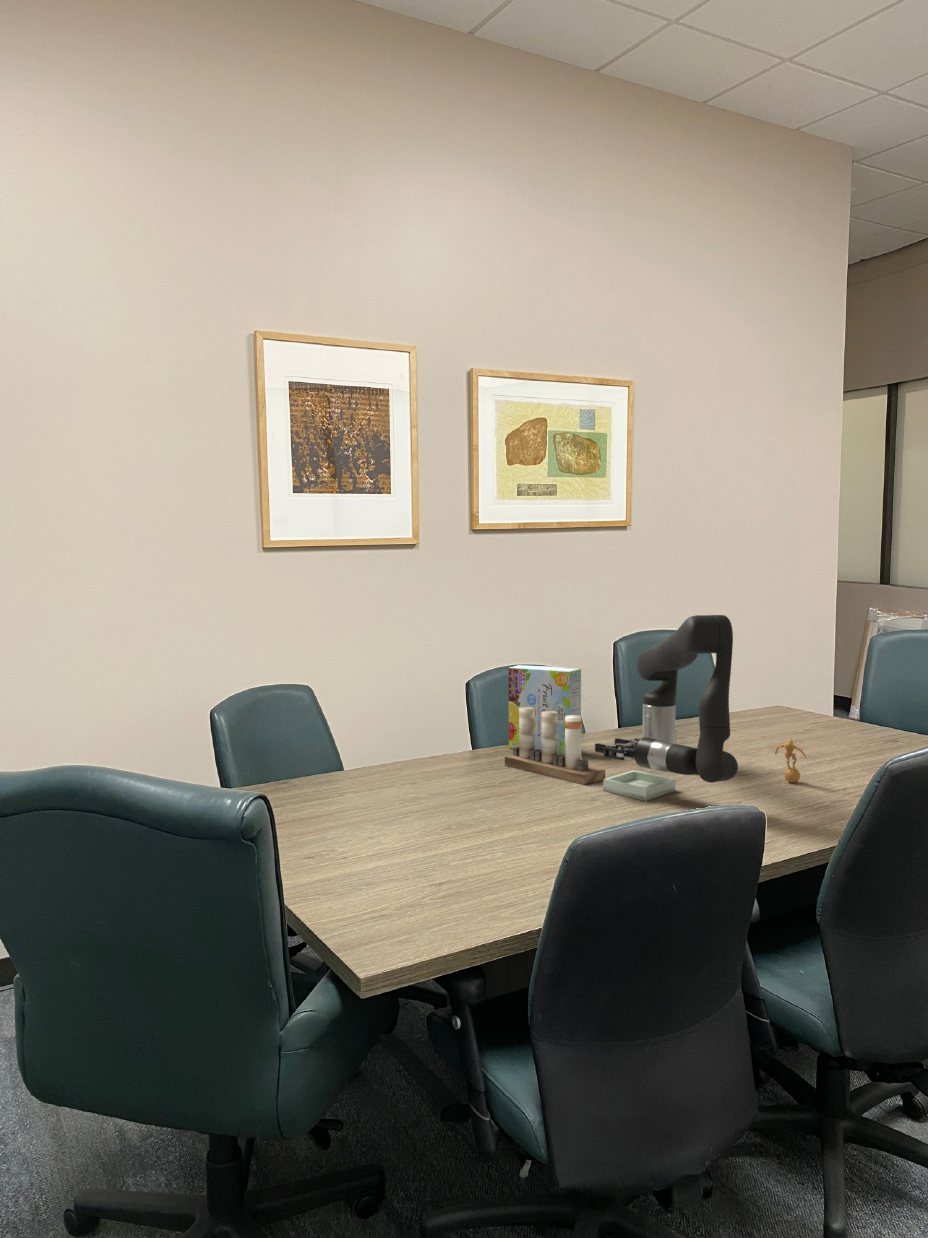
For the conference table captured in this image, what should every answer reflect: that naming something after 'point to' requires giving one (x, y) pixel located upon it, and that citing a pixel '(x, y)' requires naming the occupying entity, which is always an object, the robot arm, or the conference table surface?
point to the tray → (639, 785)
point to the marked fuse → (572, 740)
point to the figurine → (792, 773)
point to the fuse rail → (557, 770)
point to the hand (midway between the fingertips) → (605, 744)
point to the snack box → (543, 698)
